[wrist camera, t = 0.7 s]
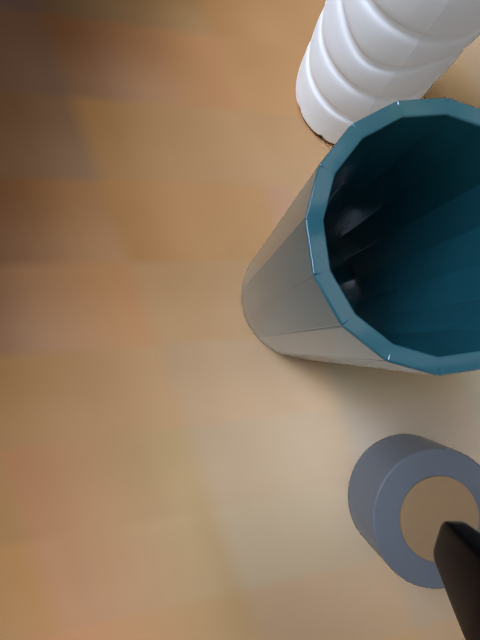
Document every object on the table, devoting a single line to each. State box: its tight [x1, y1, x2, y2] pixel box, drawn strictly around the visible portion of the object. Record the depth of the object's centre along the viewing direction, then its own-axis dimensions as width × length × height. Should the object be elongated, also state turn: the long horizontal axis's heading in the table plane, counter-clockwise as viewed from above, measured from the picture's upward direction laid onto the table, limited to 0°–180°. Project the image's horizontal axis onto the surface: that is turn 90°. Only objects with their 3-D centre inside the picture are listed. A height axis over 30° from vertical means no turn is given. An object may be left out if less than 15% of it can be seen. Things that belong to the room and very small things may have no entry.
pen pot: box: [241, 98, 480, 376], centre depth 16 cm, size 7×7×13 cm
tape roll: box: [348, 434, 480, 589], centre depth 21 cm, size 7×7×3 cm
